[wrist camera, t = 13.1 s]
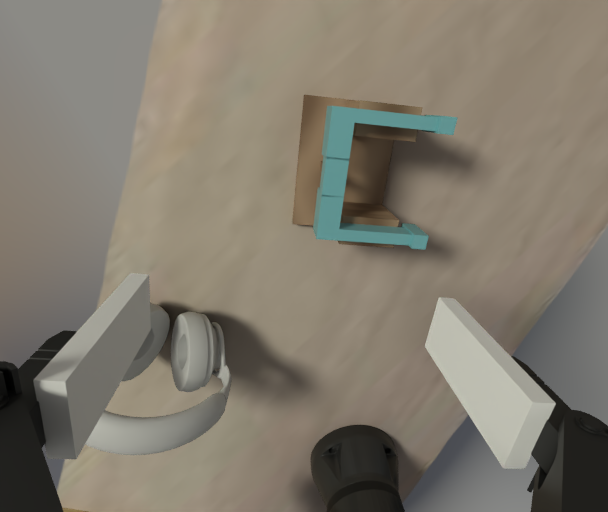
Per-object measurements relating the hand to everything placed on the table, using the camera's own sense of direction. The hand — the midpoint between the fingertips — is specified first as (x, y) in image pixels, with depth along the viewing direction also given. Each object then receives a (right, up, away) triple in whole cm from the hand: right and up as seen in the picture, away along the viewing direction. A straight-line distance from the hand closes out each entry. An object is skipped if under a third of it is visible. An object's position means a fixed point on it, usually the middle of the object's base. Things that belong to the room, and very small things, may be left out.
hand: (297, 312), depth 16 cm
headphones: (-18, -7, +35) cm, 40 cm away
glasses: (+8, +11, +22) cm, 26 cm away
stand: (+5, +14, +28) cm, 32 cm away
